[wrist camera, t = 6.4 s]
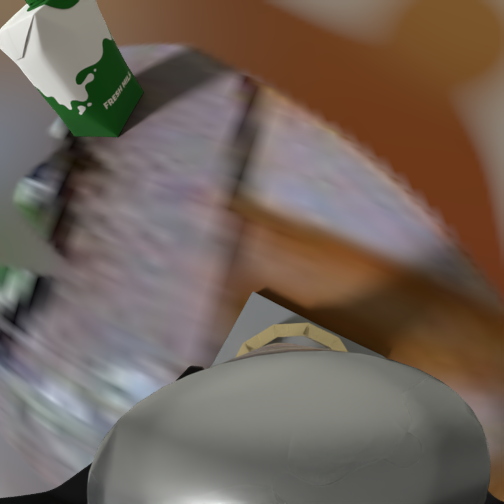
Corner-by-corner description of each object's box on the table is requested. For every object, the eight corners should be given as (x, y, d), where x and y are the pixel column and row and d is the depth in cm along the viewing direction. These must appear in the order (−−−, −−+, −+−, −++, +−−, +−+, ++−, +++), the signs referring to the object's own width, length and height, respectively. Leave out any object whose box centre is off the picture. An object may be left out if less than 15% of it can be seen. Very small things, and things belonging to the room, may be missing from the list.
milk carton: (121, 144, 28) (21, -2, 9) (65, 142, 29) (-28, 33, 10) (153, 87, 30) (92, -51, 11) (98, 90, 32) (31, -20, 12)
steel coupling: (300, 446, 13) (344, 643, 1) (216, 407, 14) (58, 546, 2) (345, 366, 14) (540, 416, 2) (260, 326, 15) (192, 261, 3)
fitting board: (260, 536, 16) (260, 542, 15) (147, 480, 19) (142, 484, 18) (380, 356, 20) (385, 357, 19) (253, 293, 23) (252, 291, 22)
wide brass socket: (312, 450, 18) (316, 463, 16) (212, 402, 20) (204, 410, 17) (367, 354, 20) (378, 356, 17) (267, 305, 21) (266, 301, 19)
